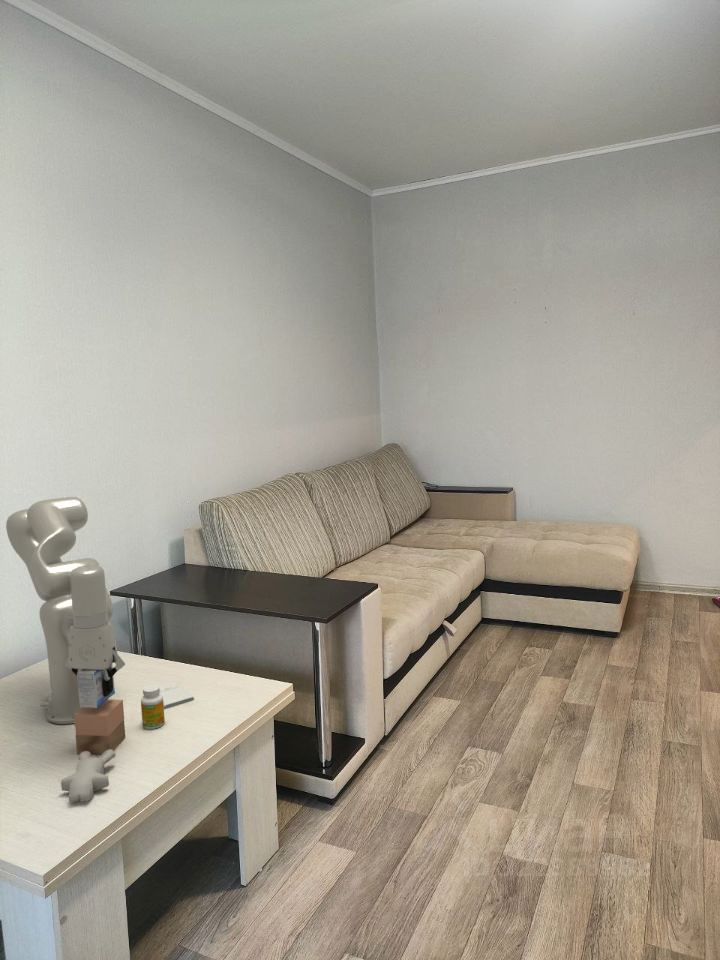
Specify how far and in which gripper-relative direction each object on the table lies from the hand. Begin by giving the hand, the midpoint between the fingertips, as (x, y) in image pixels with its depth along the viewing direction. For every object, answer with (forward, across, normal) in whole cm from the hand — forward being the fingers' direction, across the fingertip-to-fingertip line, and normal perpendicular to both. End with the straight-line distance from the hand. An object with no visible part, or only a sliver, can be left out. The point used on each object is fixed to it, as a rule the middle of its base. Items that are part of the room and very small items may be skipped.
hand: (97, 692), depth 163 cm
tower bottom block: (+13, 0, 0) cm, 13 cm away
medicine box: (+2, 0, 0) cm, 2 cm away
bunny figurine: (+14, +5, -16) cm, 21 cm away
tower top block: (+8, 0, 0) cm, 8 cm away
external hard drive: (+14, +6, +26) cm, 31 cm away
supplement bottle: (+13, +8, +11) cm, 19 cm away
